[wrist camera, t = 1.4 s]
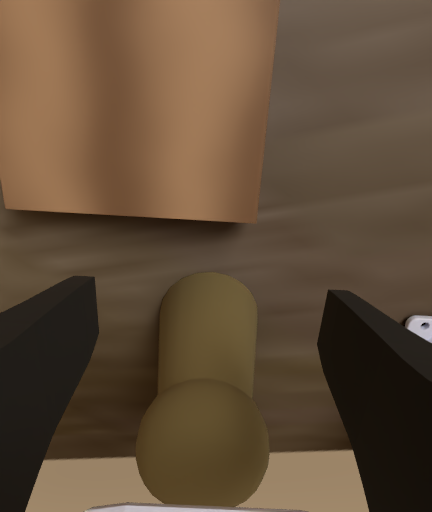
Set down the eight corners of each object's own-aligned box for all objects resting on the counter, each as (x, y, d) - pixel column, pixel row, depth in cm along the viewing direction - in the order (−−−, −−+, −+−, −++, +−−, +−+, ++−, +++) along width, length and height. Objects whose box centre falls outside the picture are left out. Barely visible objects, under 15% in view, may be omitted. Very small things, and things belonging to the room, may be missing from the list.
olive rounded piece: (247, 262, 22) (270, 409, 12) (266, 345, 24) (298, 527, 14) (147, 283, 23) (89, 440, 13) (175, 363, 25) (145, 549, 15)
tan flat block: (280, -71, 16) (290, -97, 14) (252, 208, 21) (256, 223, 18) (-12, -91, 16) (-52, -122, 13) (29, 195, 20) (5, 208, 18)
